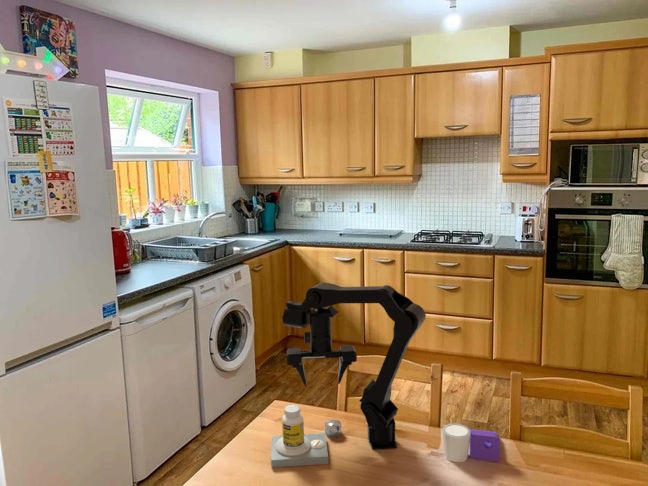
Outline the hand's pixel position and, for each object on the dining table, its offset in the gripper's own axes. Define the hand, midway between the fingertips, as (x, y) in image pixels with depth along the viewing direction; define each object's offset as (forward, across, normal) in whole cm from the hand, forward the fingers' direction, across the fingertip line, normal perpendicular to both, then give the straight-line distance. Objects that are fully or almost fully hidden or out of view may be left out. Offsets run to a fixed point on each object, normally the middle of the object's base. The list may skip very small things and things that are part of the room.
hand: (322, 384), depth 145 cm
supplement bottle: (+11, +8, +11) cm, 18 cm away
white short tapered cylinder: (+13, -32, +17) cm, 39 cm away
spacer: (+13, -2, +3) cm, 14 cm away
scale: (+13, +7, +12) cm, 19 cm away
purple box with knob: (+14, -40, +14) cm, 45 cm away
